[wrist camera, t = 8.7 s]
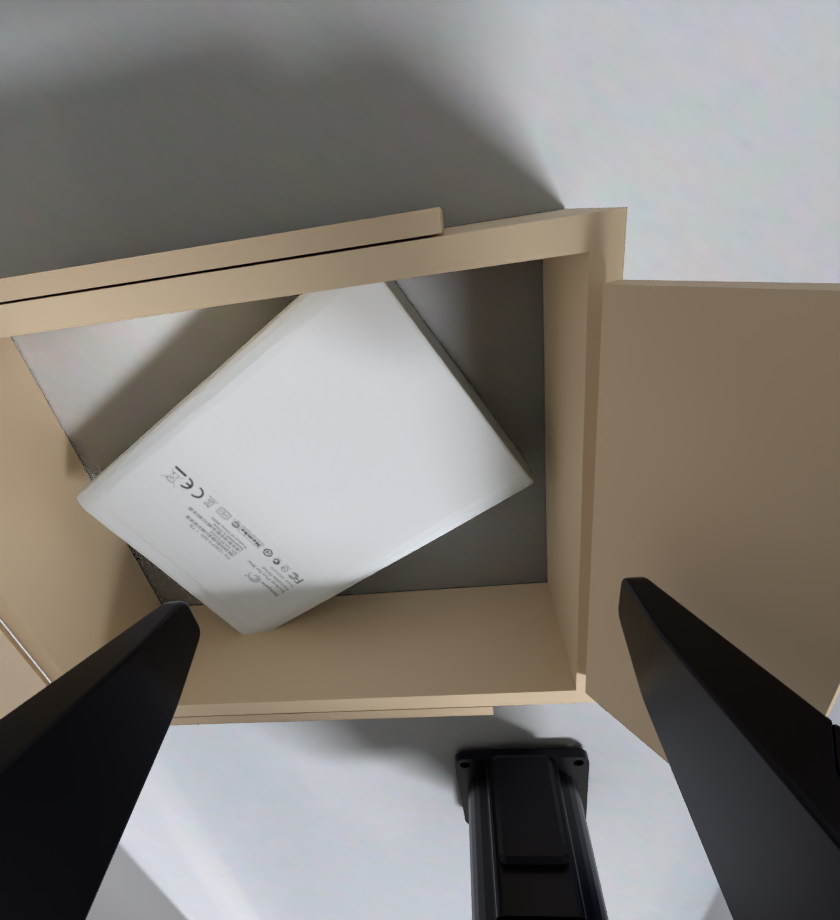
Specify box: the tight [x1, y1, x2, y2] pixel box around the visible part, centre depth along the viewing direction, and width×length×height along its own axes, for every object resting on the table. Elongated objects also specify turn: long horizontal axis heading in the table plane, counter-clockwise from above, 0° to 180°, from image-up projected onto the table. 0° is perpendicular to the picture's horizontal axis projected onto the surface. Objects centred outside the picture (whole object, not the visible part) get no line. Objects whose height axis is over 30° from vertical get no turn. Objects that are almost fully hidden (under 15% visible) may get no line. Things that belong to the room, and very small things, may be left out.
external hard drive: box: [76, 281, 534, 634], centre depth 15 cm, size 2×8×12 cm
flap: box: [585, 280, 840, 763], centre depth 9 cm, size 4×11×1 cm
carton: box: [0, 207, 627, 725], centre depth 14 cm, size 14×17×4 cm
